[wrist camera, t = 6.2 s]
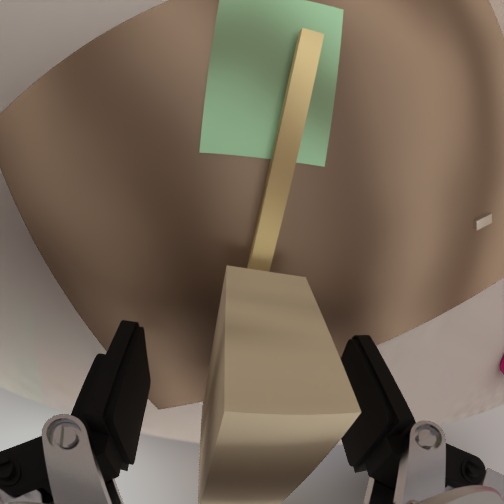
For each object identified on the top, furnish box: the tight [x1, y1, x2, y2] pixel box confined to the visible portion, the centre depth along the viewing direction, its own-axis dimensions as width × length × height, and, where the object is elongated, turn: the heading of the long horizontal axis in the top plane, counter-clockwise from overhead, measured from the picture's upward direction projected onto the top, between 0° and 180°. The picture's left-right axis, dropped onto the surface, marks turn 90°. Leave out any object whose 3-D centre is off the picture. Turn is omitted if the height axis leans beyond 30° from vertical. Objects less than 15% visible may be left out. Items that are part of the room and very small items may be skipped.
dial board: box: [0, 0, 504, 409], centre depth 11 cm, size 24×17×2 cm
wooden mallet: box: [198, 28, 361, 504], centre depth 7 cm, size 14×2×7 cm, turn 168°
